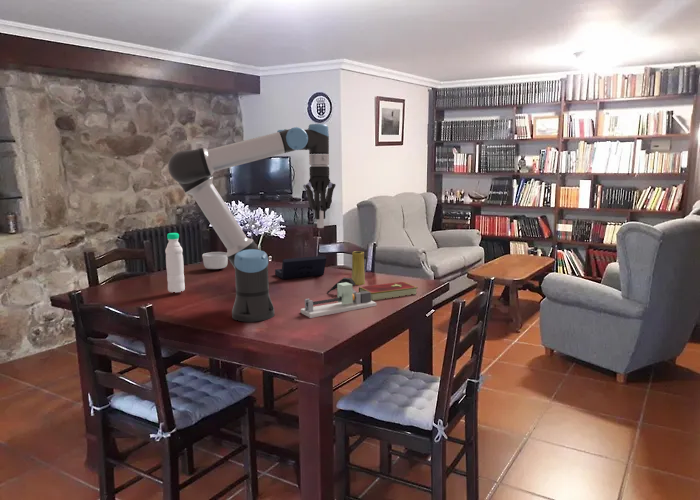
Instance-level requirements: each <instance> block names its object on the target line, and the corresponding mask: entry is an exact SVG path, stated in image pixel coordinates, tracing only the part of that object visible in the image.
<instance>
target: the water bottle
mask: <svg viewBox="0 0 700 500" xmlns="http://www.w3.org/2000/svg"><path fill="white" fill-rule="evenodd" d="M166 238H167V241H168V243H167V245H166V248H165V250H164V252H165V265H166V266H165V267H166V274H167V275H166V280H167V291H168V292H169V293H173V292H175V293H181V291H182V292H184V291H185V290H186V289H185V288H186V286H185V285H186V284H185V275H184V274H185V272H184V271H185V270H184V267H185V266H184V255H183V247H182V246H181V243H180V242H179V238H180V234H179V233H178V232H169V233H167V237H166Z"/></svg>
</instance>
